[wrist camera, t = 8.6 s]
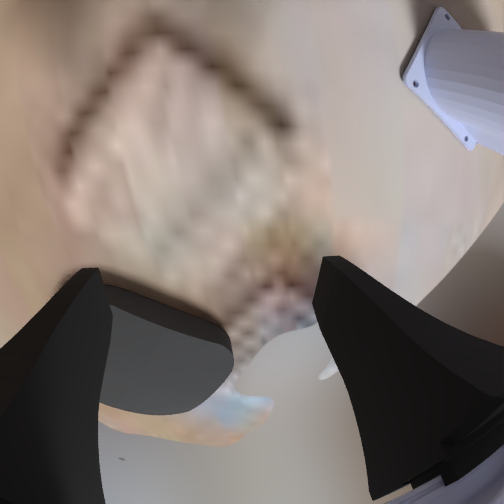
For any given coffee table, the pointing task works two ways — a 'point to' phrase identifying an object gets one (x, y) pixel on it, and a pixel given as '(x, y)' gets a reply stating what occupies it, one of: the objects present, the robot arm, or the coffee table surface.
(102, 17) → the coffee table surface
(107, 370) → the media streaming box
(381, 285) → the robot arm
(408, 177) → the coffee table surface
